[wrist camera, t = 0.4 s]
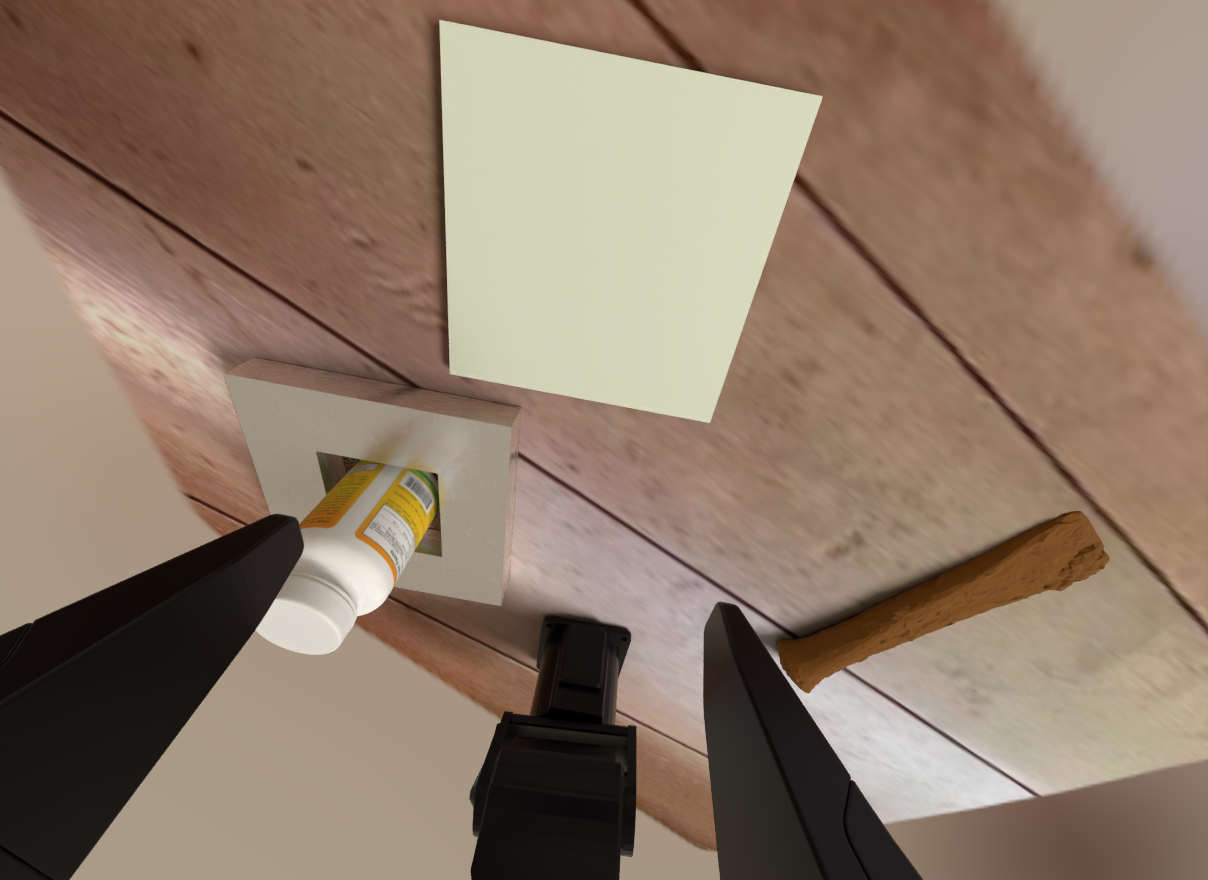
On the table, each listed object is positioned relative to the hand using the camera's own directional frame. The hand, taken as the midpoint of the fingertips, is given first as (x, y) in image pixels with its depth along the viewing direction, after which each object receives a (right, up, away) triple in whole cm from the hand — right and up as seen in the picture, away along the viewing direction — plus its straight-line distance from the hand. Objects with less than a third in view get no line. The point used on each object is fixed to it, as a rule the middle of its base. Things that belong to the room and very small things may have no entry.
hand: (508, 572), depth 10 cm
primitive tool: (+22, -7, +19) cm, 30 cm away
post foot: (-10, 0, +18) cm, 20 cm away
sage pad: (+2, +11, +9) cm, 14 cm away
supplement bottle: (-10, 0, +18) cm, 21 cm away
